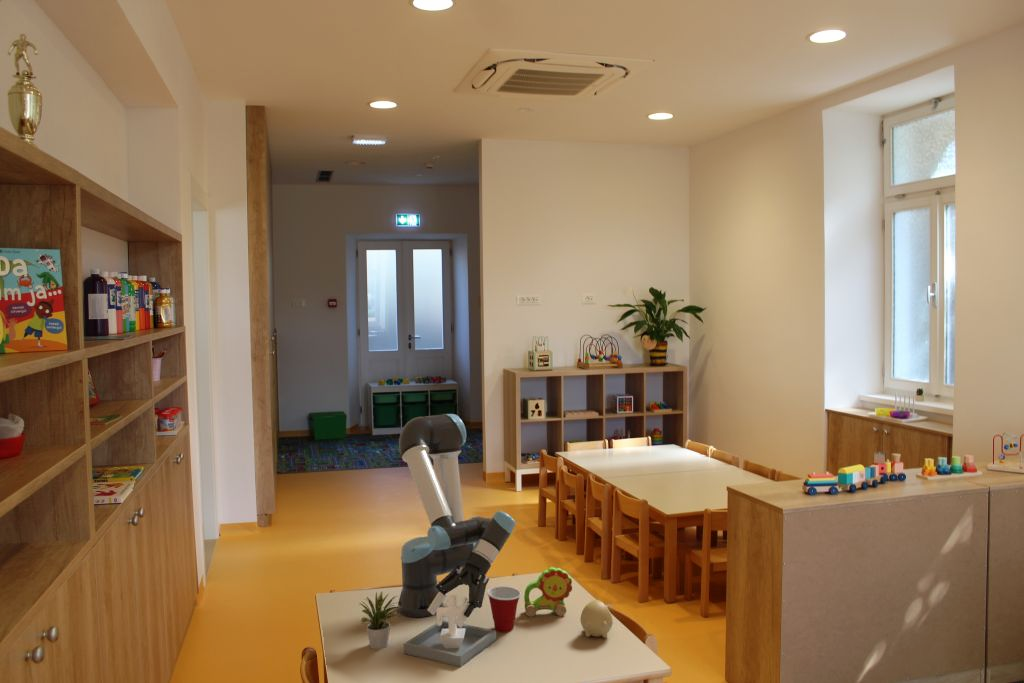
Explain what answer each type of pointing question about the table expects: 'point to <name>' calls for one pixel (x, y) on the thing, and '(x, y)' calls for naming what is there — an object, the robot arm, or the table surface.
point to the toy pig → (596, 619)
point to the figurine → (451, 623)
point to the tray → (434, 650)
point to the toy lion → (549, 592)
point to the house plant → (378, 622)
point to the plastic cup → (503, 606)
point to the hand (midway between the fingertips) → (443, 619)
